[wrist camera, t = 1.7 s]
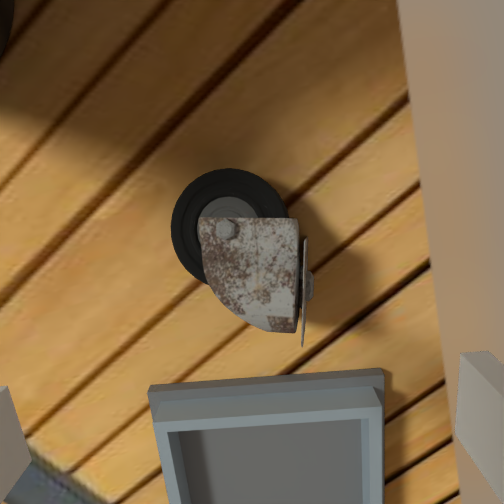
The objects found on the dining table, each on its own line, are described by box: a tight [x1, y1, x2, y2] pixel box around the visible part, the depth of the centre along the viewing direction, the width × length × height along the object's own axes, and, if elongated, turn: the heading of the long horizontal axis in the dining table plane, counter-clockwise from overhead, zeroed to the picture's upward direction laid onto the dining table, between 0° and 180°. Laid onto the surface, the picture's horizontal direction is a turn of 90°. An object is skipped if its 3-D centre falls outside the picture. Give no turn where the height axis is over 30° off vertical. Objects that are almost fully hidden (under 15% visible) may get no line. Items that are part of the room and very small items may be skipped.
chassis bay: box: [147, 368, 384, 504], centre depth 33 cm, size 20×20×4 cm
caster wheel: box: [171, 168, 314, 347], centre depth 26 cm, size 7×11×10 cm
